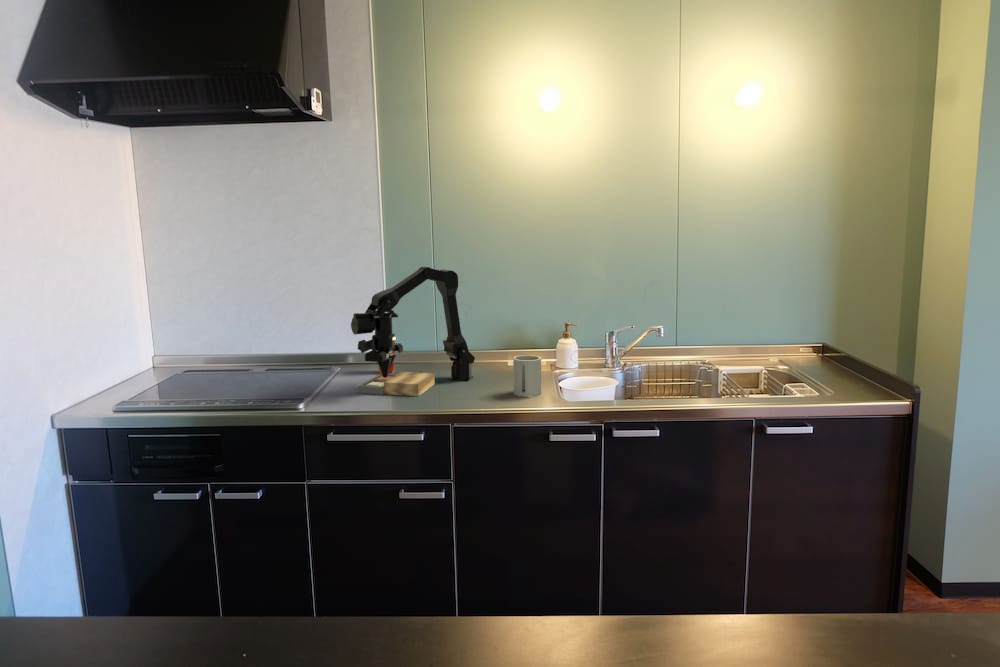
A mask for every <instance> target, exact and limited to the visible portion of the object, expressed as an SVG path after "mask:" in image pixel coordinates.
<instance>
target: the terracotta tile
mask: <svg viewBox="0 0 1000 667" xmlns="http://www.w3.org/2000/svg"><path fill="white" fill-rule="evenodd" d="M390 378H392V377H390V376H387V377H386V378H384V377H383V376H381V377H379V378H378V379H377V382H385V381H387V380H389V379H390Z"/></svg>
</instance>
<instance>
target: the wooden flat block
mask: <svg viewBox="0 0 1000 667" xmlns="http://www.w3.org/2000/svg"><path fill="white" fill-rule="evenodd" d="M395 375H396V376H394V377H392V378H390V379H389V380H387V381H385V382H384V395H393V396H394V395H395V396H396V395H397V396H411V397H413V396H414V397H420V396H421V395H422V394H423V393H425V392H426V391H427V390H429V389H431V388H432V387H433V386H434V385H435V379H436V378H435V376H436V375H435V372H419V371H418V372H415V371H401V372H399V373H398V374H395Z"/></svg>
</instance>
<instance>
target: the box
mask: <svg viewBox="0 0 1000 667" xmlns="http://www.w3.org/2000/svg"><path fill="white" fill-rule="evenodd" d="M396 375H397V374H392V373H391V374H388V376H390V377H394V376H396ZM381 376H383V375H382V374H381V373H379V374H378V375H375V376H373V377H371V378H369V379H368V380H365V381H364V382H363V383H360V384H359V385H357V393H358V394H361V395H363V394H365V395H377V396H379V395H382V396H384V395H385V394H384V387H380V386H366V385H367V384H369V383H371V382H377V379H378V378H379V377H381Z"/></svg>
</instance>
